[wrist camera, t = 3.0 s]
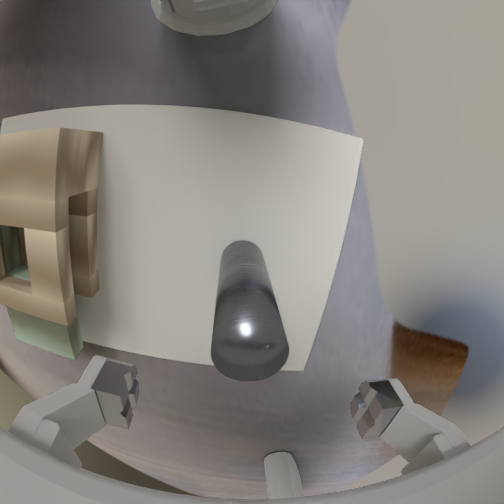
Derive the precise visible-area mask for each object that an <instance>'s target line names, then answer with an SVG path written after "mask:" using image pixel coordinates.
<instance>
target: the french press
mask: <svg viewBox="0 0 504 504" xmlns="http://www.w3.org/2000/svg"><path fill="white" fill-rule="evenodd" d="M277 1H278V0H151V4H150V5H151V7H152V9H153V11H154V14H155V16H156V18H157V20H159V21H160V22H162V23H163V24H165V25H166V26H168V27H169V28H171V29H172V30H173V31H177V32H182V33H187V34H191V35H195V36H207V35H226V34H229V33H232V32H235V31H238V30H241V29H245V28H248V27H251V26H253V25H254V24H255V23H257V22H258V21H260V20H261V19H263V18H264V17H266V16H267V15H269V14H270V13H271V11H272V9H273V8H274V6H275V4H276V3H277Z"/></svg>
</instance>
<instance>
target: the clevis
mask: <svg viewBox="0 0 504 504" xmlns="http://www.w3.org/2000/svg"><path fill="white" fill-rule="evenodd" d="M102 137H103V132H96V131H88V130H80V129H70V128H49V129H39V130H30V131H22V132H15V133H9V134H3V135H0V304H2V305H5V306H7V309H8V313H9V316H10V320H11V323H12V327H13V330H14V333H15V336H16V339H18V340H20V341H23V342H25V343H28V344H30V345H33V346H35V347H38V348H41V349H43V350H46V351H49V352H52V353H54V354H57V355H60V356H63V357H66V358H70V359H73V360H76V358H77V356H78V355H79V353H80V352H81V350H82V349H83V347H84V346H83V341H82V336H81V332H80V327H79V321H78V316H77V315H78V314H77V308H76V302H75V295H74V294H76V295H81V296H85V297H90V298H92V297H93V296H94V295H95V294H96V293H97V292H98V290H99V276H98V259H97V194H98V177H99V164H100V154H101V145H102Z"/></svg>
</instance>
